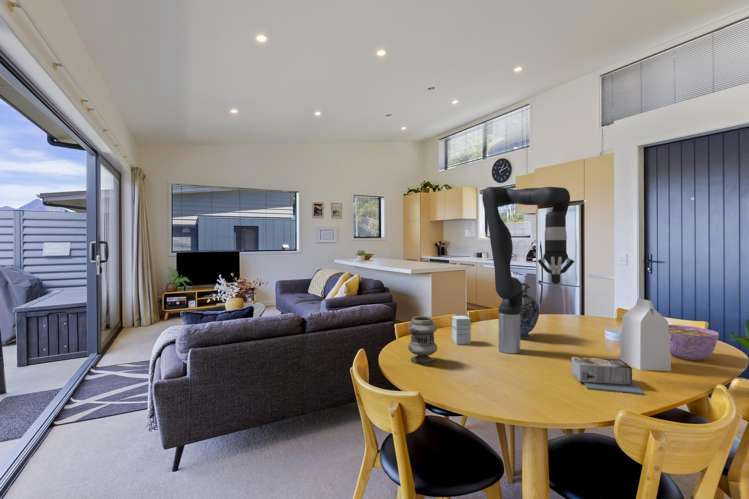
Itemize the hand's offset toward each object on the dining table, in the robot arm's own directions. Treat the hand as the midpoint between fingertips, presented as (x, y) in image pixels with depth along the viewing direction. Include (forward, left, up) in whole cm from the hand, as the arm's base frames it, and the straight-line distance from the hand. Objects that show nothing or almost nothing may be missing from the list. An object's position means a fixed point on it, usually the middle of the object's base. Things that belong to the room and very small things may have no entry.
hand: (555, 284), depth 139 cm
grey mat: (+15, -10, -33) cm, 38 cm away
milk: (+34, +15, -33) cm, 50 cm away
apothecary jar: (-51, -5, -33) cm, 61 cm away
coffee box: (+5, -10, -29) cm, 31 cm away
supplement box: (-38, +28, -33) cm, 58 cm away
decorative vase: (-10, +47, -33) cm, 58 cm away
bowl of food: (+55, +32, -33) cm, 71 cm away
